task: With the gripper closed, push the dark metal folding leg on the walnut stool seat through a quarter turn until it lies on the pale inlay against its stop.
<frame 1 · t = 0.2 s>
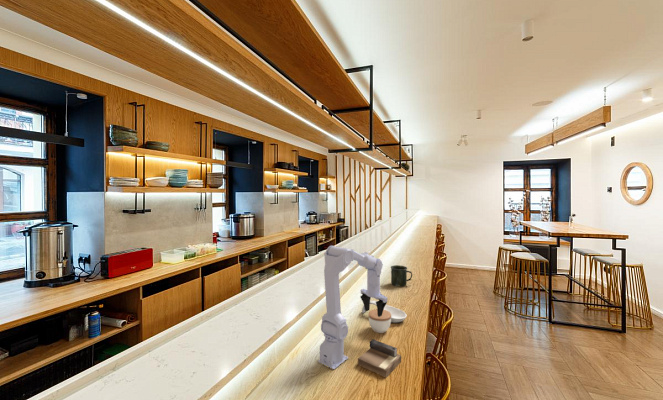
hand: (373, 313, 132), 10 cm above the countertop, tool pointing down, fingers open, 7 cm apart
stool seat: (379, 363, 111), on the countertop
lidded jar: (379, 330, 137), on the countertop
spoon rest: (383, 317, 150), on the countertop
folding leg: (383, 347, 114), point 4 cm above the countertop, hinge at 0.0°
mug: (401, 284, 200), on the countertop
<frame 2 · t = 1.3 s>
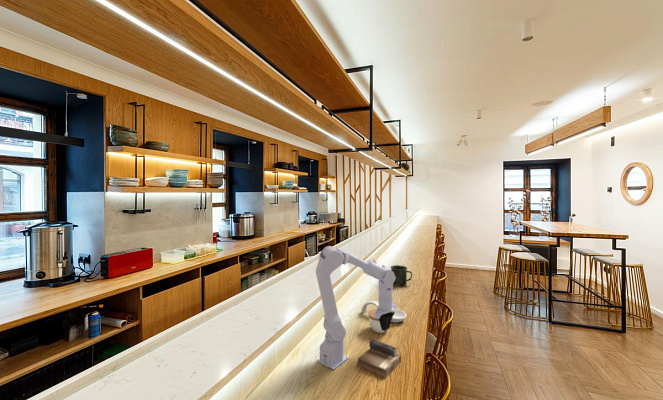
hand: (385, 329, 120), 8 cm above the countertop, tool pointing down, fingers closed
nothing on the countertop moved.
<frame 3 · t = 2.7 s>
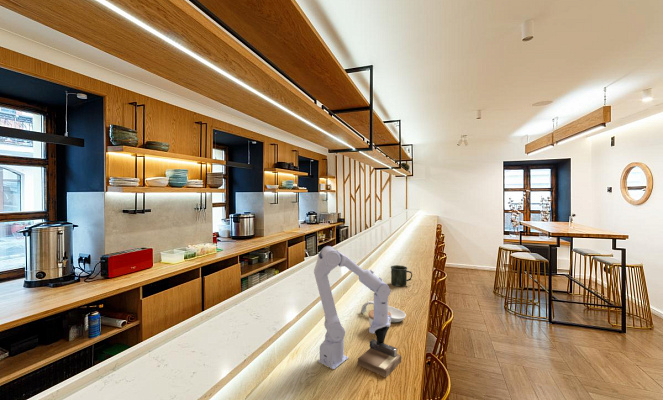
hand: (380, 343, 117), 4 cm above the countertop, tool pointing down, fingers closed
folding leg: (383, 347, 114), point 4 cm above the countertop, hinge at 0.0°, touching gripper
everything else where it was.
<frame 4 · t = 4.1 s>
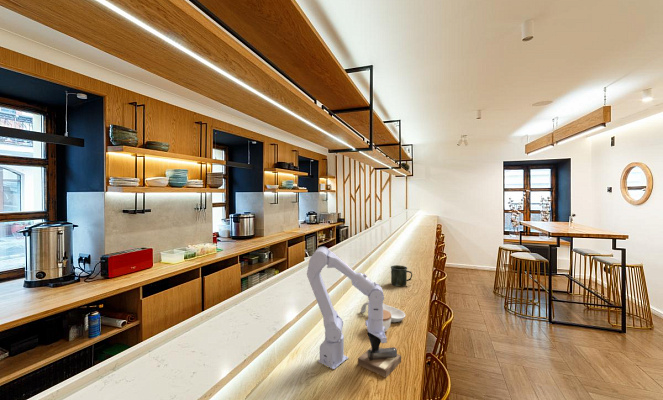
hand: (375, 351, 111), 4 cm above the countertop, tool pointing down, fingers closed, pressing on folding leg
folding leg: (382, 353, 110), point 4 cm above the countertop, hinge at 50.0°, touching gripper
everything else where it was.
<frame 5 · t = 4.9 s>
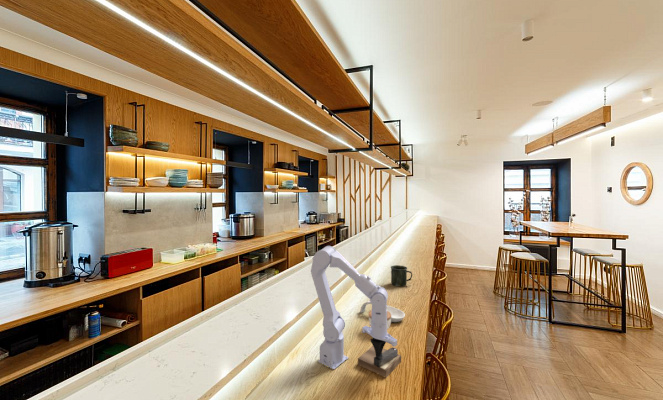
hand: (378, 357, 108), 4 cm above the countertop, tool pointing down, fingers closed, pressing on folding leg
folding leg: (386, 356, 108), point 4 cm above the countertop, hinge at 79.2°, touching gripper
everything else where it was.
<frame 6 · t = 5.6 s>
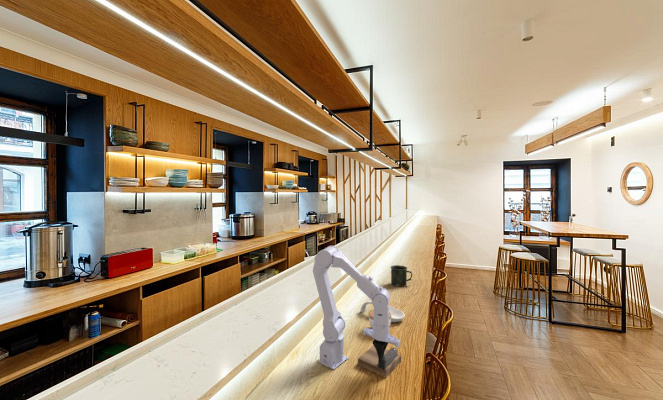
hand: (380, 359, 107), 4 cm above the countertop, tool pointing down, fingers closed
folding leg: (388, 357, 108), point 4 cm above the countertop, hinge at 91.1°, touching gripper
everything else where it was.
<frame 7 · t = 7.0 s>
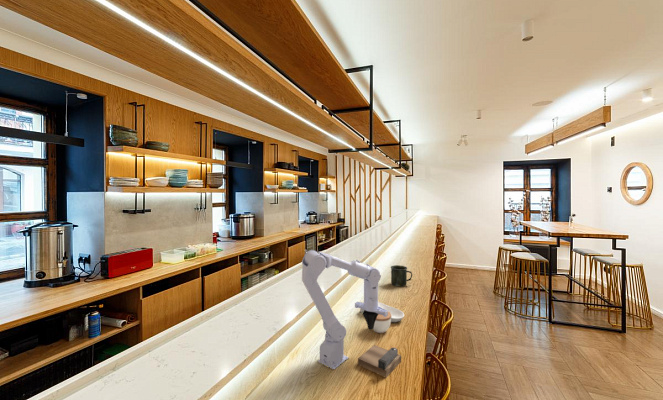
hand: (370, 328, 119), 9 cm above the countertop, tool pointing down, fingers closed
folding leg: (388, 357, 108), point 4 cm above the countertop, hinge at 91.2°
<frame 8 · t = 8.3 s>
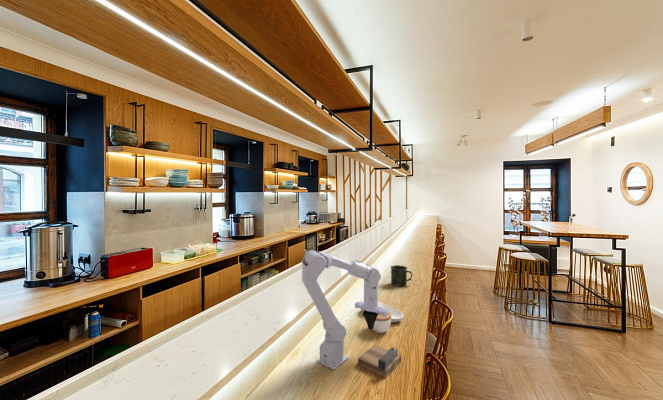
hand: (370, 328, 119), 9 cm above the countertop, tool pointing down, fingers closed
at the end: folding leg at +91° (first picture: +0°) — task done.
